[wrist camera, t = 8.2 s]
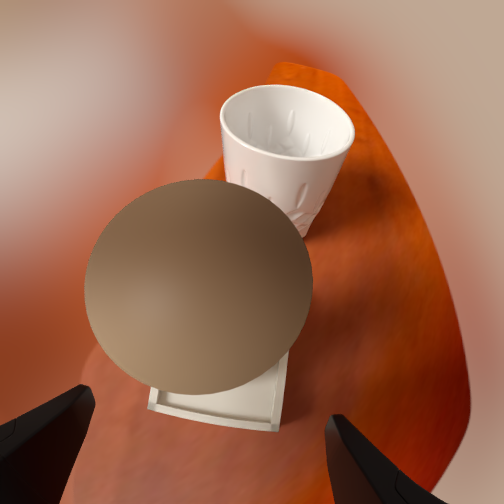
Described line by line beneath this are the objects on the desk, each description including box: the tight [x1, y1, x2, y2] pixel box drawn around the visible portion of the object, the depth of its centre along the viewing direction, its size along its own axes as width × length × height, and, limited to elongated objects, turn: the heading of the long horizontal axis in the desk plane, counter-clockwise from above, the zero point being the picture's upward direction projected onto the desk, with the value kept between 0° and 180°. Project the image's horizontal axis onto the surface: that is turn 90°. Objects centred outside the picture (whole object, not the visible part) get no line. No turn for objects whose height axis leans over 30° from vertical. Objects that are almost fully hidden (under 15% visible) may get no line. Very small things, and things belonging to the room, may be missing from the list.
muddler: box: [84, 179, 313, 395], centre depth 11 cm, size 5×5×13 cm
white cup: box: [220, 85, 355, 238], centre depth 19 cm, size 8×8×10 cm
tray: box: [147, 350, 289, 432], centre depth 17 cm, size 9×8×2 cm
